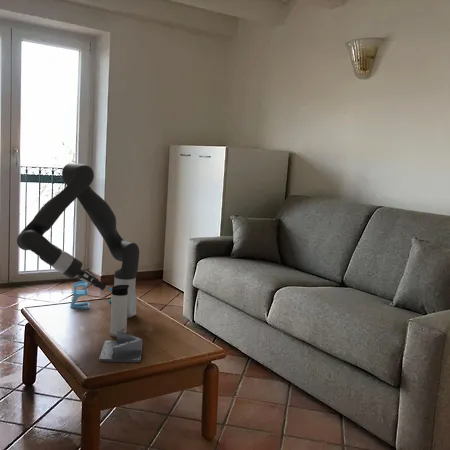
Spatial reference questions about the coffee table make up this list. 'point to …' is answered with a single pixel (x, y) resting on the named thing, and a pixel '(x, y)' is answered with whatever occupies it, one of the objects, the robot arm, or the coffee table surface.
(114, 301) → the travel mug
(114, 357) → the v block
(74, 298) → the chair
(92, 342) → the coffee table surface
